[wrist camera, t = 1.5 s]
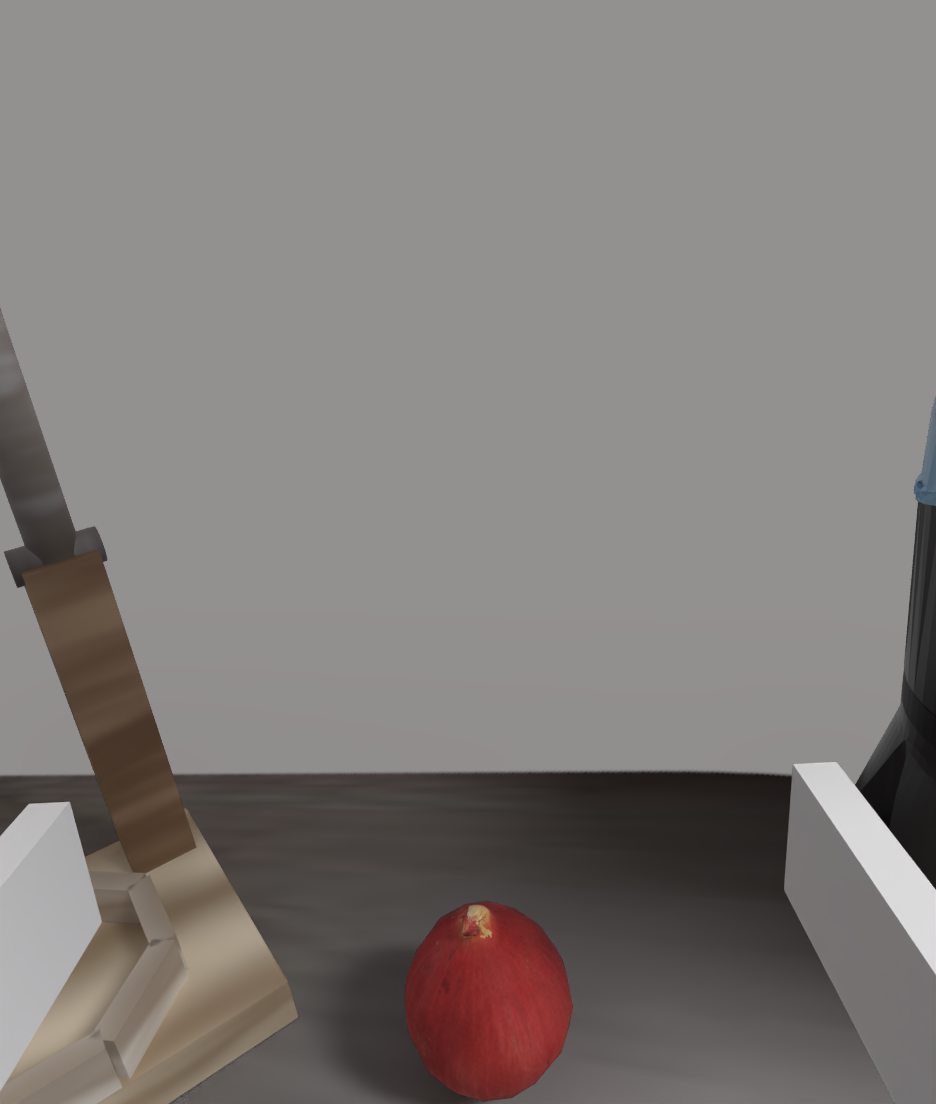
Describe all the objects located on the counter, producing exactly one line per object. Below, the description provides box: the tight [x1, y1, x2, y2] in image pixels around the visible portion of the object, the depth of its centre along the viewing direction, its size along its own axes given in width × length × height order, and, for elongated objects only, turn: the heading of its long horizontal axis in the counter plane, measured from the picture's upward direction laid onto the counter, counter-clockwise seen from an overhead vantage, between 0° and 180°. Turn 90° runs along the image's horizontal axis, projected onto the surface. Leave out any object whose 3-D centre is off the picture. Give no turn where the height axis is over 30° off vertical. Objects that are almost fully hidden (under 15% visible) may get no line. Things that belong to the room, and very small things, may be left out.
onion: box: [405, 901, 573, 1101], centre depth 27 cm, size 6×6×8 cm
